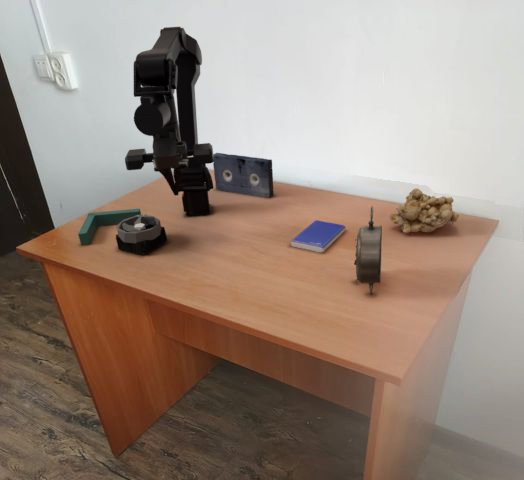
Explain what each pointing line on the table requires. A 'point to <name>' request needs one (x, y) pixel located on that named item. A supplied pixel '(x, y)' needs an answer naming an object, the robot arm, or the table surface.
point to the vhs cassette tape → (243, 174)
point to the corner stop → (103, 222)
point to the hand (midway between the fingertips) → (176, 194)
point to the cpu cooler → (140, 234)
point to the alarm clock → (369, 254)
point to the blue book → (318, 236)
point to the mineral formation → (424, 212)
